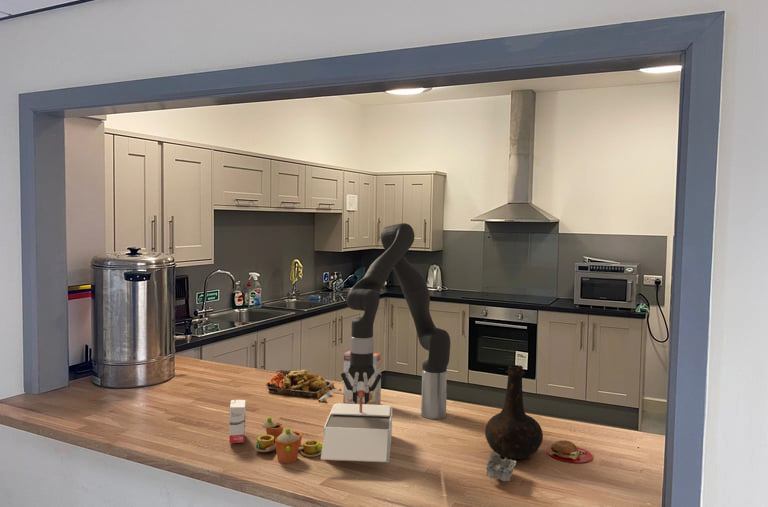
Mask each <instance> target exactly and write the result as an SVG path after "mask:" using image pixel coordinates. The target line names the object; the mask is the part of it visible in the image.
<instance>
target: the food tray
mask: <svg viewBox="0 0 768 507" xmlns="http://www.w3.org/2000/svg"><path fill="white" fill-rule="evenodd" d="M265 385H266V388H267V389H268V393H272V394H280V395H284V396H285V395H287V396H291V397H293V396H294V397H302V398H306V399H307V398H308V399H310V398H311V399H317V398H318V400H317V401H318V402H319V403H322V402H327V400H328V399H330V396H331V395H333V394H334V392H335V391H337V393H339V392H341V390H342V389H341V388H336V387H335V383H334V382H331V381H326V380H325V378H324V377H323V376H319V375H318V374H316V373H312V372H310V373H308V369H283V370H282V369H281V370H276V371H275V374H274V375H273V376H272V377H271V378H270V380H269V381H267V382H266V383H265Z"/></svg>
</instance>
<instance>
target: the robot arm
mask: <svg viewBox="0 0 768 507" xmlns="http://www.w3.org/2000/svg"><path fill="white" fill-rule="evenodd" d="M415 237H416V236H415V231H414V229H413V227H412V225H410V223H406V222H403V223H397V224H392V225H387V226H383V228H382V229H381V231H380V242H381V244H382V247H383V249H384V252H383V253H382V254H380V255H379V256H378V257H377V258H376V259H375V260H374V261H373V262H372V263H371V264H370V265H369V267H368V269H367V271H366V272H365V274H364V276H363V277H362V278H361V279H359V280H358V281H357V282H356V283H355V284H354V285H353V286H352V287H351V288H350V289H349V291H348V293H347V294H346V304H347V307H348V308H349V309H350V310H354V311H363V312H364V313H363V314H362V316H360V317H355V318H353V319H352V321H351V337H350V345H349V351H350V367H349V369H348V370H347V371H345V372H344V370H343V371H341V375H340V376H341V379H342V381H343V384H344V383H345V385H346V387H347V390H351V391H352V392H353V402H355V404H357V398H358V396H357V392H358V391H357V385H358V382H360V381H361V382H364V385H365V404H367V402H369V392H370V391H374V390H375V388H376V386H377V384H378V382H379V380H380V378H381V379H382V372H381V373H378V372H376V371H375V369H374V367H373V353H375V352H374V347H375V346H374V322H375V319H376V315H377V312H378V309H379V305H380V295H379V293H378V292H379V291H381V290H382V288H383V287H384V284H385V283H386V281H387V280H388V277H389V276H390V274H391V272H393V271H394V272H395V274H396V277H397V280H398V282H399V285H400V288H401V291H402V294H403V297H404V299H405V302H406V304H407V306H408V309H409V311H410V314H411V317H412V319H413V323H414V327H415V330H416V334H417V337H418V341H419V342H418V343H419V344H420V346H421V348H423V349H424V350H426V351H428V358H427V360H424V361H423V362H422V365H421V367H422V368H421V405H420V406H421V407H420V408H421V409H420V411H421V412H420V415H421V416H422V417H424V418H427V419H431V420H438V419H440V420H441V419H446V418H447V396H448V395H447V394H448V393H447V373H448V372H447V370H448V365H449V362H450V358H451V356H450V354H451V336H450V334H449V333H448V332H447V331H446V330H445V329H442V328H439V327H436V325H435V324H434V321H433V319H432V316H431V313H430V305H431V304H430V302H431V295H430V290H429V287H428V285H427V282H426V279H425V277H424V276H423V274H421V272H420V271H419V270H418V269H416V268H415V266H413V265H412V264H411V263H410V262H409V261H408V260H407V258H406V257H405V254H406V253H407V252H408V251H409V250H410V249H411V247H412V246H413V244H414V241H415ZM349 373H350V375H351V376H352V378H353V379H354V384H353V386H352V385H351V384H350V381H349V379H348V377H349ZM373 374H374V378H375V381H374V383H373V385H372V386H370V387H369V379H370V378H371V376H372V375H373Z"/></svg>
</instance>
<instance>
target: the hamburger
mask: <svg viewBox="0 0 768 507" xmlns="http://www.w3.org/2000/svg"><path fill="white" fill-rule="evenodd" d="M546 452H547V454H548V455H549V456H550V457H551V458H554V459H556V460H559V461H563V462H568V463H576V464H577V463H578V464H579V463H580V464H581V463H586V462H590V461H591V460H593V459H594V454H592V452H590V451H588V450H587V449H584V448H582V447H578V446H577V445H576V444H575V443H573V442H571V441H570V440H567V439H566V440H556V441H554V443H552V444H551V445H550V446H549V447H547V449H546ZM579 455H580V456H582V457H578V456H579ZM584 455H585V456H584ZM583 456H584V457H583Z"/></svg>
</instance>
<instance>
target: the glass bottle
mask: <svg viewBox="0 0 768 507" xmlns="http://www.w3.org/2000/svg"><path fill="white" fill-rule="evenodd" d="M507 367H508V369H507V370H505V373H508V374H507V382H506V391H505V398H504V402H503V406H502V409H501V411H500V412H499V413H497V414H494V415H493V416H492V417H491V418H490V419H489V420H488V421H487V423H486V426H485V429H484V430H485V432H484V433H485V439H486V442H487V444H488V445H489V447H490V448H491V450H492V452H493V451H494V453H495V454H498V455H500V457H502V458H507V459H509V460H510V459H511V460H522V459H526V458H530V457H531V456H533V455H534V454H535V453H536V452H537V451H538V450H539V449H540V447H541V446H542V443H543V439H544V434H543V429H542V427H541V425H540V423H539V422H538V420H536V419H534V418H533V417H532V416H530V415H528V414H526V412H525V407H524V396H523V376H525V374H526V372H525V371H523V370H524V367H523V366H521V365H518V364H511V365H509V366H507Z"/></svg>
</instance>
